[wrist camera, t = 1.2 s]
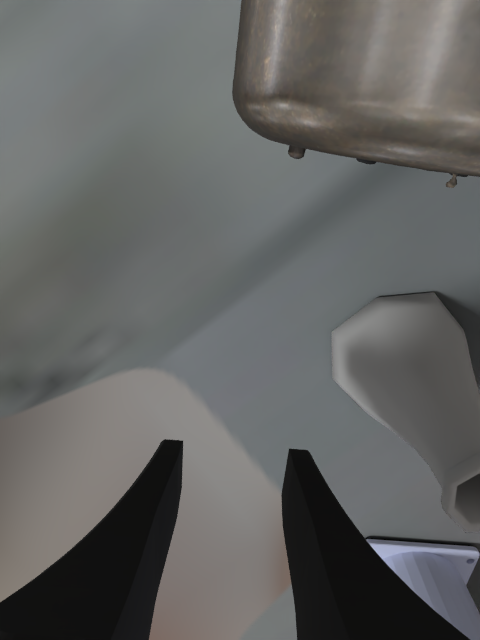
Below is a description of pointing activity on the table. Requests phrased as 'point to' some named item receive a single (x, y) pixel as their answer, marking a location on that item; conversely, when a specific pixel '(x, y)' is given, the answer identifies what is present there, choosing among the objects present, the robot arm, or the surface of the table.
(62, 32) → the table surface
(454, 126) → the alarm clock
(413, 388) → the flask
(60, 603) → the robot arm
